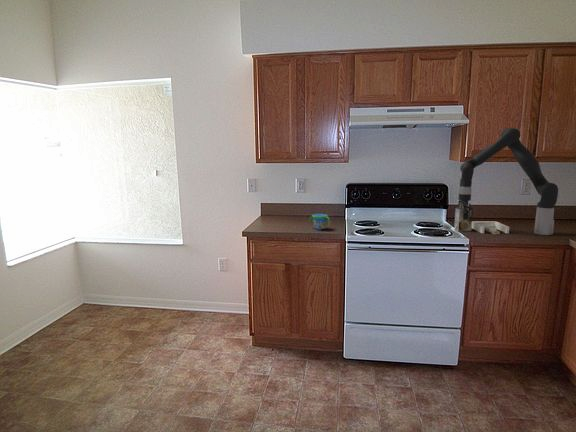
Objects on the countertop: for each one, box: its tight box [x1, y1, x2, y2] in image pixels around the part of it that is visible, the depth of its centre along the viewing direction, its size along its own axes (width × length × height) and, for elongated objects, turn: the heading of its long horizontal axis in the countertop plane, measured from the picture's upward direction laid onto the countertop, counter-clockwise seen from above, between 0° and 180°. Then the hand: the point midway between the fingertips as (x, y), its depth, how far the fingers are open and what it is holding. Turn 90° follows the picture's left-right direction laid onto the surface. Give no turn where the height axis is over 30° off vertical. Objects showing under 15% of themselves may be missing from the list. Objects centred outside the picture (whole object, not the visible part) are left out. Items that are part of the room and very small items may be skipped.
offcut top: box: [489, 226, 498, 232], centre depth 244 cm, size 8×4×2 cm, turn 150°
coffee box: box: [453, 206, 474, 233], centre depth 250 cm, size 9×6×16 cm
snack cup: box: [309, 213, 331, 231], centre depth 264 cm, size 16×10×10 cm
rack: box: [472, 220, 510, 234], centre depth 250 cm, size 17×18×5 cm
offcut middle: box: [485, 228, 501, 235], centre depth 244 cm, size 10×4×2 cm, turn 0°
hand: (463, 217), depth 250 cm, fingers open, 8 cm apart
